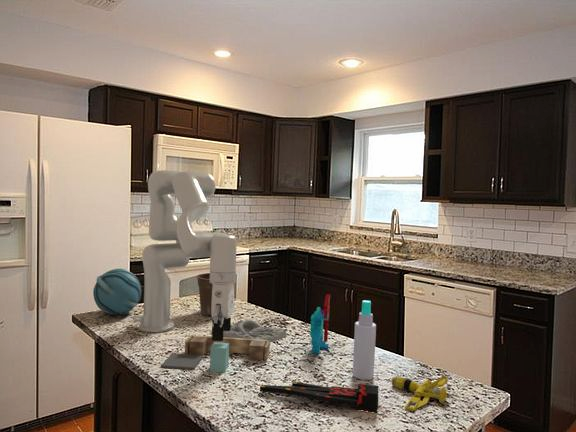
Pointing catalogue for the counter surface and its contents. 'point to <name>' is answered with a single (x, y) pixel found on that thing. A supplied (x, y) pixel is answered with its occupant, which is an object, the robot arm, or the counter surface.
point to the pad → (182, 361)
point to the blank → (219, 357)
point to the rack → (236, 345)
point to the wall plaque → (254, 331)
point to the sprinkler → (422, 390)
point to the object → (205, 293)
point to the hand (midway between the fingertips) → (221, 335)
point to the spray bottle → (364, 344)
